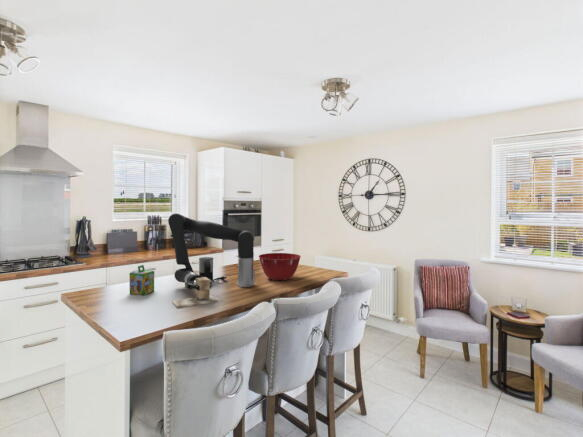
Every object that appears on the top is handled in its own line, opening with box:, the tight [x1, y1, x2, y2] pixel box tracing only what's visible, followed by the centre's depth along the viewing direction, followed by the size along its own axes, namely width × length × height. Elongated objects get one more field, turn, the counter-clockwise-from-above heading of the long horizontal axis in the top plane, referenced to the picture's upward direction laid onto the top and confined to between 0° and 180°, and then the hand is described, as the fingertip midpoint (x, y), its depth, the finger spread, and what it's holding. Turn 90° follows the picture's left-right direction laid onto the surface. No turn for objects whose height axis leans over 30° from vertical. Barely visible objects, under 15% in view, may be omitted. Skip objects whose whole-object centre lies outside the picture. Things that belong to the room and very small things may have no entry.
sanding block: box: [195, 277, 211, 301], centre depth 155 cm, size 5×6×10 cm
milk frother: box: [198, 256, 227, 282], centre depth 196 cm, size 14×16×15 cm
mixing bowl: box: [258, 252, 302, 281], centre depth 208 cm, size 28×28×15 cm
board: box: [171, 294, 219, 309], centre depth 154 cm, size 20×9×1 cm, turn 126°
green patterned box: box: [129, 264, 155, 296], centre depth 167 cm, size 9×9×15 cm
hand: (204, 287), depth 153 cm, fingers closed on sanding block, 5 cm apart
